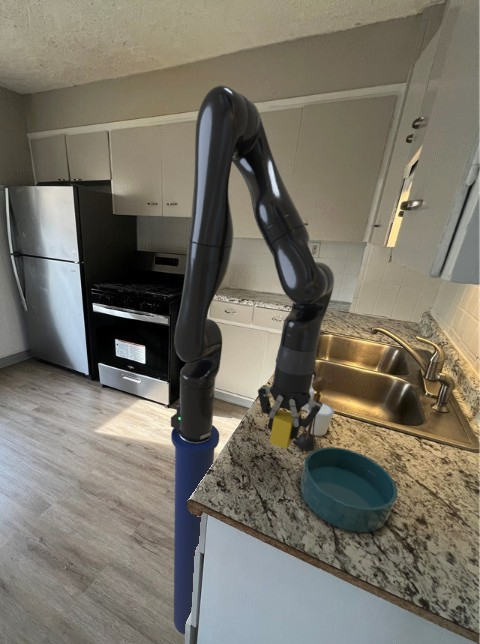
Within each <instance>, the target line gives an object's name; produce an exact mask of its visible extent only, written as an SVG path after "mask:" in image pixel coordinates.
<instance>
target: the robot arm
mask: <svg viewBox="0 0 480 644" xmlns="http://www.w3.org/2000/svg"><path fill="white" fill-rule="evenodd" d="M195 122H196V123H195V138H194V139H195V141H194V179H193V180H194V181H193V195H192V203H191V204H192V205H191V214H190V215H191V217H190V226H189V232H188V239H187V250H186V262H185V272H184V278H183V286H182V293H181V294H182V295H181V301H180V306H179V311H178V316H177V321H176V325H175V330H174V336H173V344H174V345H173V346H174V349H175V352H176V354H177V356H178V357H179V359H180V360H181V361H183V362H185V364H184V366H182V368H181V369H180V372H179V403H177V404H176V413H175V414H173V415H172V416H171V417H170V427H171V428H172V429H173V428H175V429H176V433H177V434H178V435H179V436H180V438H181V439H182V440H183V441H184V442H186V443H189V444H203V443H206V442H208V441H209V440H210V439H211V437H212V425H213V422H214V421H213V420H214V407H215V406H214V405H215V392H216V380H217V379H216V378H217V376H218V374H219V372H220V367H221V360H222V352H223V335H222V330H221V328H220V325H218V323H217V322H216V321H215V320H213V319H210V318H208V315H209V310H210V307H211V305H212V302H213V300H214V299H215V296H216V294H217V293H218V291H219V290H220V287H221V285H223V282H224V281H225V277H226V275H227V272H228V269H229V266H230V261H231V258H232V257H231V256H232V250H233V246H234V245H233V244H234V223H233V217H232V210H231V206H230V198H229V197H230V196H229V187H230V175H231V169H232V163H233V164H234V166H235V167H236V168H237V170H238V172H239V173H240V174H241V177H243V181H244V182H245V184H246V186H247V189H248V192H249V196H250V200H251V207H252V212H253V215H254V216H253V217H254V219H255V223H256V225H257V228H258V230H259V232H260V234H261V236H262V238H263V240H264V243H265V244H266V246H267V248H268V250H269V251H270V253H271V255H272V257H273V261H274V266H275V270H276V274H277V277H278V280H279V284H280V287H281V288H282V291H283V292H284V294H285V296H286V297H287V298H288V300H289V301H290V302H292V305H291V309H290V311H289V313H288V315H287V316H286V317H285V319H284V322H283V325H282V331H281V338H280V343H279V347H278V350H277V354H276V358H275V367H274V374H273V380H272V385H271V386H267V385H266V384H262V386H260V387H259V389H257V394H258V399H259V400H258V401H259V403H260V409H261V412H262V413H263V414H266V415H267V416H268V417H269V418H268V425H267V428H268V429H269V432H270V433H271V432H272V426H273V420H274V417H275V415H276V414H277V413H278V412H279V410H281V409H282V410H283V409H284V410H287V411H288V412H290V413H291V417H292V419H293V426H292V430H291V435H290V439H291V440H292V441H294V439H296V440H297V438H298V437H299V434H300V431H301V427H303V428H306V427H308V425H309V424H310V423H311V421H312V420H313V419H314V417H315V416H316V415H317V413H318V412H319V410H320V409H321V407H322V403H323V402H321V401H319V402H315V401H314V400H312V399H311V396H310V393H309V391H310V386H311V381H312V377H313V372H314V371H315V367H316V362H317V353H318V347H319V341H320V336H321V332H322V331H321V330H322V325H323V321H324V318H325V315H326V313H327V310H328V307H329V305H330V302H331V299H332V296H333V292H334V287H335V275H334V273H333V270H332V269H331V268H330V266H329V265H327V264H326V263H324V262H321V261H315V259H314V257H313V253H312V251H311V249H310V247H309V244H310V241H311V238H310V235H309V231H308V229H307V227H306V225H305V223H304V221H303V219H302V216H301V215H300V213H299V211H298V209H297V207H296V206H295V203H294V201H293V199H292V197H291V195H290V194H289V191H288V190H287V187H286V185H285V182H284V181H283V178H282V176H281V174H280V172H279V169H278V167H277V163H276V160H275V158H274V156H273V153H272V151H271V147H270V143H269V141H268V137H267V133H266V129H265V127H264V124H263V120H262V117H261V114H260V112H259V109H258V107H257V106H256V104H255V103H254V102H253V101H252V100H251V99H250V98H248V97H246V96H245V95H243V94H241V93H239V92H238V91H237V90H235V89H233V88H231V87H230V86H226V85H216V86H214V87H213V88H210V90H209V91H208V92H207V93H206V94H205V96H204V97H203V99H202V101H201V104H200V106H199V108H198V113H197V117H196V121H195ZM270 395H271V397H272V398H273V400H274V404H273V406H272V405H271V400H270ZM306 404H308V405H309V408H308V409H309V411H310V413H309V414H308V416H307V415H306V417H303V416H302V413H303V410H302V407H303V406H305V405H306Z"/></svg>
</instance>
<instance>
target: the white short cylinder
mask: <svg viewBox="0 0 480 644" xmlns="http://www.w3.org/2000/svg"><path fill="white" fill-rule="evenodd" d="M321 403H322V407H321V409H320V410H319V412H318V413H317V415H316V419H315V425H314V436H319V437H321V436H325V435H326V434H327V433H328V429H329V427H330V425H331V422H332V419H333V417H334V414H335V409H334V408H333V407H332V406H330V405H329V404H326V403H324V402H321ZM308 408H309V405H308ZM309 413H310V411H309V409H307V411H306V417H307V416H308V414H309ZM313 422H314V420H313ZM308 426H309V425H308ZM307 430H308V427H306V430H305V431H307ZM310 434H312V435H313V424H312V428H311V432H310Z"/></svg>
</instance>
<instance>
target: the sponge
mask: <svg viewBox="0 0 480 644" xmlns="http://www.w3.org/2000/svg"><path fill="white" fill-rule="evenodd" d="M292 426H293V419H292V417H291V412H290V411H286V410H283V409H279V411H278V413H277V414H276V415H275V417H274V420H273V426H272V432H270V438H269V443H270V444H272V445H274V446H277V447H279V448H281V449H284V450H288V448H289V446H290V445H291V443H292V442H293V440H291V439H290V435H291V430H292Z"/></svg>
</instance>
